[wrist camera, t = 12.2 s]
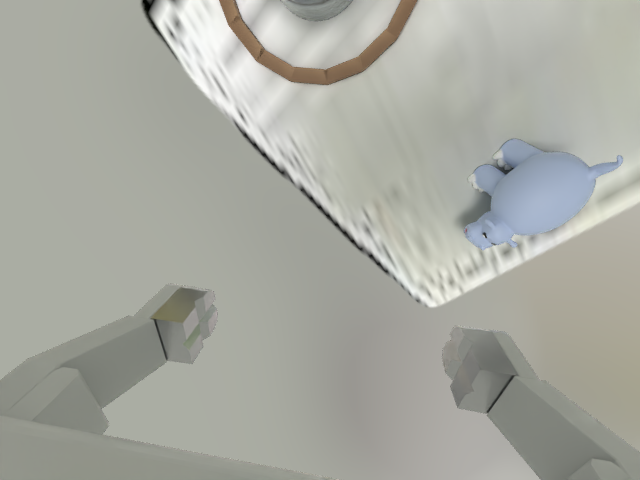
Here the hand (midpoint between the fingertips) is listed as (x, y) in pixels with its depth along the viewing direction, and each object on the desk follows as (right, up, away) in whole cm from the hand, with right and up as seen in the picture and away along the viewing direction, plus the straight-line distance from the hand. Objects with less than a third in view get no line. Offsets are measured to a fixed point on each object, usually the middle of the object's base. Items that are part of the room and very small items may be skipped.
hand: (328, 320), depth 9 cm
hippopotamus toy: (+25, +10, +27) cm, 39 cm away
